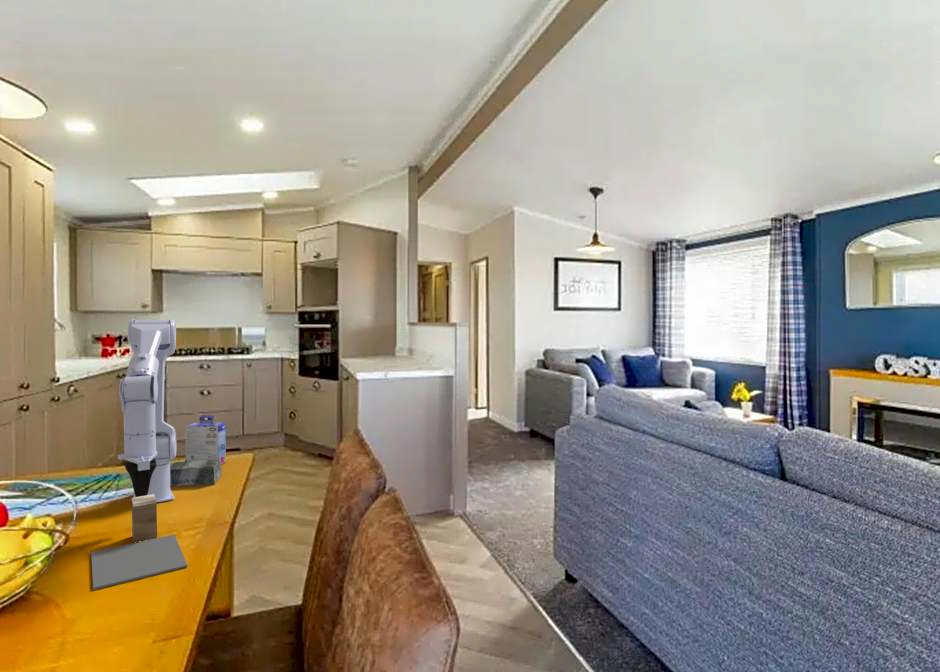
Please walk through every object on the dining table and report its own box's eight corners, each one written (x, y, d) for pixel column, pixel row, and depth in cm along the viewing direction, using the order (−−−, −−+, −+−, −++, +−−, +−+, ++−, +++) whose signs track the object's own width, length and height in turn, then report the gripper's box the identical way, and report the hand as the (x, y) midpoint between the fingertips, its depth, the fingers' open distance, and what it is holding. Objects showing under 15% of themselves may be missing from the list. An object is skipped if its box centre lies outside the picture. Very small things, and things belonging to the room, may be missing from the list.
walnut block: (132, 536, 110) (131, 497, 110) (154, 531, 113) (154, 494, 112) (134, 543, 107) (133, 503, 107) (157, 538, 110) (156, 499, 109)
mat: (91, 554, 102) (91, 551, 102) (174, 536, 111) (174, 534, 111) (93, 590, 89) (93, 588, 89) (187, 567, 98) (187, 565, 98)
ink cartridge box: (227, 461, 163) (226, 414, 163) (219, 467, 158) (218, 418, 157) (194, 461, 163) (193, 414, 162) (185, 467, 158) (184, 418, 157)
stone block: (168, 477, 149) (168, 459, 148) (223, 475, 151) (223, 457, 151) (155, 488, 140) (155, 468, 140) (214, 485, 142) (214, 466, 142)
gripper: (115, 428, 117) (116, 489, 118) (119, 442, 105) (121, 510, 106) (152, 424, 121) (153, 483, 122) (160, 437, 110) (162, 502, 110)
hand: (141, 495), depth 114 cm, fingers closed
